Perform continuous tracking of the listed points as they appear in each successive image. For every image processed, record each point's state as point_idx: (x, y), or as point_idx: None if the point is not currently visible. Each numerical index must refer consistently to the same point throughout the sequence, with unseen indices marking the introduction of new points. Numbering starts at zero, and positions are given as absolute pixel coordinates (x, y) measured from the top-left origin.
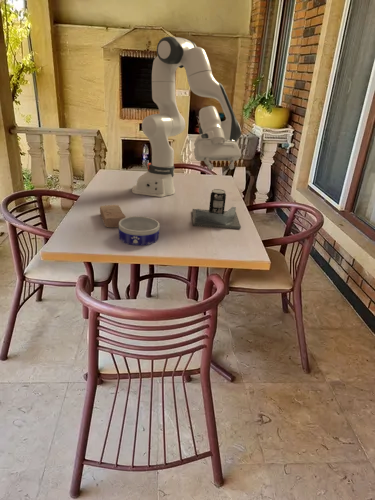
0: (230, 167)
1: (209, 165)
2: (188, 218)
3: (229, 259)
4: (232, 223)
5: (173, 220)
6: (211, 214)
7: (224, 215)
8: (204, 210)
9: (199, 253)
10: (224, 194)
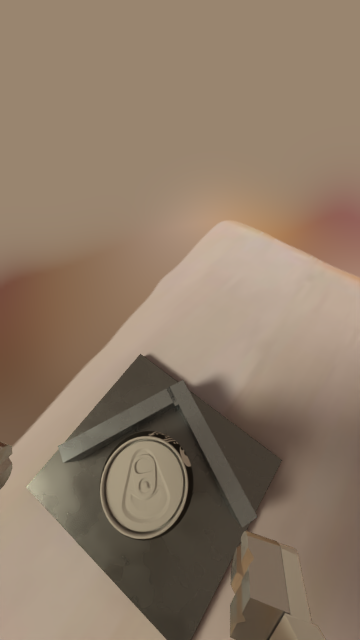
0: (6, 456)
1: (300, 601)
2: None
3: (292, 248)
4: (146, 386)
5: (332, 565)
6: (213, 436)
7: (182, 388)
8: (223, 483)
9: (346, 295)
10: (135, 437)
